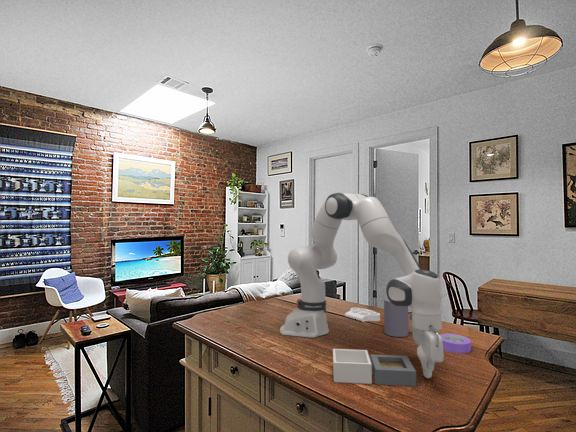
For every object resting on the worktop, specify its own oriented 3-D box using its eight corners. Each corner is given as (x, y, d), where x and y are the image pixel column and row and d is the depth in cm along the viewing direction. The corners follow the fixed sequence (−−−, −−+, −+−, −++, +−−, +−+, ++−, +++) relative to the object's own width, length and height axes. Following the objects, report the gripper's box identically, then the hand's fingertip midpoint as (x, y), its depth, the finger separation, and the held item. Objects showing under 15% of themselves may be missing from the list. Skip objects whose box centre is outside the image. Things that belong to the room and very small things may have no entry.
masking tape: (475, 347, 133) (475, 338, 133) (465, 356, 125) (465, 346, 125) (444, 340, 141) (444, 331, 141) (433, 348, 133) (433, 338, 133)
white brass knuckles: (340, 316, 179) (358, 312, 187) (367, 324, 164) (385, 319, 173) (340, 310, 179) (358, 306, 188) (367, 317, 164) (385, 313, 173)
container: (410, 338, 144) (409, 303, 144) (385, 336, 146) (385, 302, 146) (406, 330, 154) (406, 297, 154) (383, 329, 156) (383, 297, 156)
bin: (333, 382, 105) (333, 362, 105) (333, 366, 116) (332, 348, 116) (371, 383, 103) (371, 364, 103) (367, 367, 115) (367, 350, 115)
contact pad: (382, 374, 105) (382, 371, 105) (378, 365, 112) (378, 361, 112) (406, 375, 104) (406, 372, 104) (401, 365, 111) (400, 362, 111)
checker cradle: (375, 384, 103) (375, 369, 103) (370, 367, 115) (370, 354, 115) (416, 386, 102) (416, 371, 102) (406, 369, 114) (406, 355, 114)
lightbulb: (413, 374, 110) (413, 340, 110) (431, 373, 110) (431, 339, 110) (422, 383, 104) (422, 347, 104) (441, 382, 104) (441, 346, 104)
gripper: (449, 332, 97) (449, 380, 96) (427, 313, 117) (427, 353, 117) (426, 331, 97) (427, 379, 97) (408, 312, 118) (409, 352, 117)
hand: (427, 364), depth 107 cm, fingers closed on lightbulb, 5 cm apart
